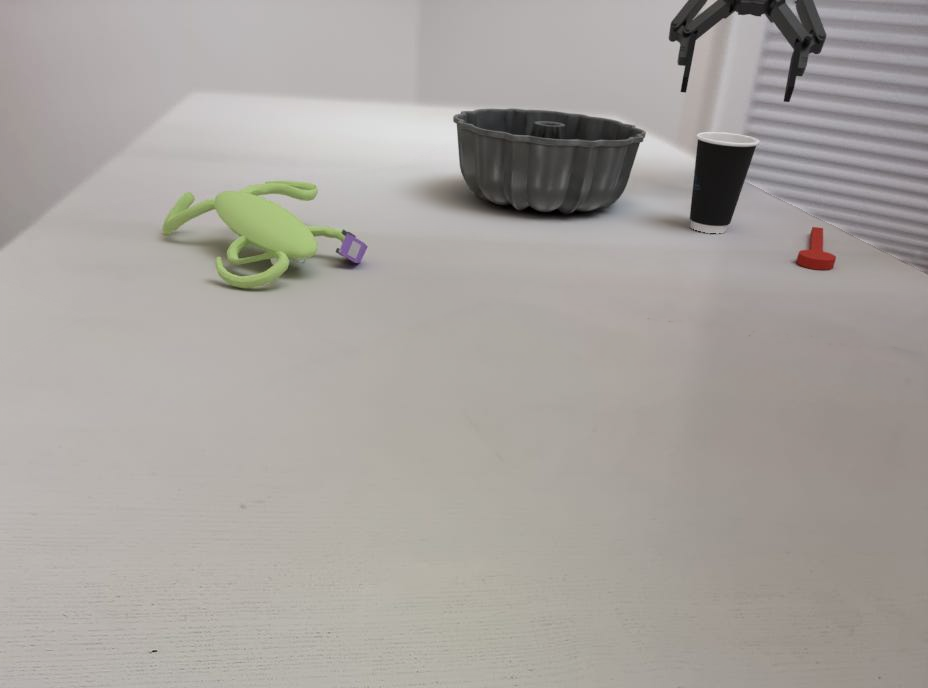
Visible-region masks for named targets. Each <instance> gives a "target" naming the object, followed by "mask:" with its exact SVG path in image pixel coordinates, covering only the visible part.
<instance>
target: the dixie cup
mask: <svg viewBox="0 0 928 688" xmlns="http://www.w3.org/2000/svg"><path fill="white" fill-rule="evenodd" d="M695 137H696V139H697V143H696V144H697V145H696V153H695V161H694V171H693V183H692V191H691V199H690V200H691V201H690V211H689V221H690V227H691V228H692V229H691V228H690V229H691V230H693V229H694V230H693V231H695V230H697V231H696V232H698V231H701V232H700V233H703V232H705V233H704V234H710V233H716V234H715V235H720V234H719V233H721V234H725V233H727V230H728V227H729V225H730V224H731V223H732V219H733V216H734V214H735V211H736V207H737V205H738V201H739V199H740V196H741V194H742V190H743V188H744V185H745V182H746V178H747V174H748V172H749V169H750V165H751V164H752V160H753V157H754V153H755V151H756V148H757V146H759V144H760V140H759V139H758V138H757V137H753V136H750V135H746V134H745V135H744V134H740V133H734V132H724V131H722V132H721V131H702V132H698V133H696V136H695Z"/></svg>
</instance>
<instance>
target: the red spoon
mask: <svg viewBox="0 0 928 688" xmlns="http://www.w3.org/2000/svg"><path fill="white" fill-rule="evenodd" d="M809 237H810V238H809V249H802V250H800V251H798V254H797V258H796V264H797V265H798V266H799V267H800V266H801V267H803V268H805V269H811V270H817V271H829V270H832V269H833V268H834V266H835V263H836V259H837V257H836V255H834V254H833V253H830V252H827V251H824V228H823V227H819V226H812V227H811V231H810V235H809Z"/></svg>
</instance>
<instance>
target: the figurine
mask: <svg viewBox="0 0 928 688" xmlns="http://www.w3.org/2000/svg"><path fill="white" fill-rule="evenodd" d="M318 191H319V190H318V186H317V185H316V184H313V183H311V182H306V181H296V180H295V181H294V180H269V181H265V182H264V183H260V184H259V183H257V184H252V185H249V186H246V187H244V188H242V189H240V190H226V191H222V192H219V193H218V194H216V195H215V198H214V197H213V198H207V199H205V200H202V201H200V202H198V203H195V204H194V205H192V204H193V203H194V201H195V200H196V199H195V195H194V194H193V193H192V192H190V191H186V192H185V193H183V194H182V196H181V197H180V198H179V199H178V200H177V201H176V203H175V204H174V206H173V207H172V208H171V210H169V212H168V214H167V215H166V216H165V219H164V222H163V225H162V228H161V230H162V232H163V234H164V235H166V236H168V235H171V234H172V233H173V232H175V231H177V230H178V229H179V228H180V227H182V226H183V225H185V224H186V223H187V222H189V221H191V220H193V219H195V218H198V217H199V216H201V215H204V214H206V213H208V212H211V211H213V210H215V211H216V213H217V215H218V217H219V218H220V219H221V220H222V221H223V223H225V225H226V226H227V227H228V228H229V229H230V230H231V231H232V232H233V233H234V234H236V235H237V236H239V237H238V238H236V239H235V240H233V242H231V243H230V245H229V247H228V249H227V250H226V257H227V261H228V262H230V263H232V264H234V265H246V264H251V263H255V262H260V261H264V260H270V263H271V264H272V265H271V266H270V267H269V268H268V269H266V270H265V271H262V272H258V273H255V274H250V275H241V276H240V275H237V274H234V273H231V272H229V271H228V270H227V269H226V267H224V264H223V260H222V257H221V256H217V257H216V258H215V268H216V271H217V274H218V276H219V277H220V278H221V279H222V280H223V281H224V282H225V283H227V284H229V285H231V286H233V287H234V288H240V289H253V288H258V287H262V286H265V285H267V284H270V283H272V282H274V281H276V280H277V279H278V278H280V277H281V276H282V275H283V274H284V273H285V272H286V271H287V270H288V268H289V265H290V263H291V262H290V259H292V260H293V262H295V263H297V264H305V262H306V259H309V258H311V257H313V256H315V255H316V254H317V252H318V240H317V239H316V238H315V237H326V238H330V239H337V240H339V241H340V242H341V246H340V248H339V247H336V249H335V253H337V254H338V255H339V256H341V257H343V258H346V259H348V260H350V261H351V262H353V263H355V264H361V263H362V260H363V258H364V255H365V254H366V252H367V249H368V247H369V246H368V245H367V244H366V243H365V242H364V241H362V240H360V239H359V238H357V236H356V235H355V234H354V233H352V232H350V231H347V230H345V229H344V228H343V229H338V228H337V229H336V228H334V227H330V226H314V225H313V226H312V225H311V226H309V225H308V226H307V225H306V223H304V222H303V221H302V220H301V219H300V218H299V217H298V216H297V215H296V214H294V213H292V211H289V210H288V209H286V207H283V206H282V205H281V204H278V203H276V202H274V201H272V200H271V199H267V198H265V197H264V196H265V195H281V196H286V197H290V198H292V199H295V200H298V201H303V202H304V201H305V202H310V201H313V200H315V198H316V197H317V195H318ZM191 205H192V206H191ZM250 245H253V247H256V248H259V249H260V250H263V251H264V253H261V254H258V255H257V254H256V255H253V256H248V257H241V258H239V254H240V252H241V251H242V250H243V249H245V248H247V247H248V246H250Z"/></svg>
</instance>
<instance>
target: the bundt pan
mask: <svg viewBox="0 0 928 688" xmlns="http://www.w3.org/2000/svg"><path fill="white" fill-rule="evenodd" d="M452 122H453V123H454V124H456V131H457V132H456V133H457V148H458V158H459V159H458V161H459V169H460V172H461V175H462V178H463V180H464V181H465V183H466V185H467V187H468V189H469V190H470V191H471V192H472V194H474V195H475V196H476V197H477V198H479V199H481V200H483V201H487V202H491V203H494V204H496V205H499V206H510V205H512V207H513V208H514V209H515V210H517V211H523V210H525V209H527V208H529V207H530V208H531V209H533V210H535V211H537V212H541V213H549V212H553V211H555V210H558V211H559V212H560V213H561V214H564V215H569V214H572V213H574V211H577V212H582V213H583V212H591V211H595V210H603V209H605V208H608V207H610V206H612V205H613V204H614V203H616V202H617V201H618V200H619V199H620V197H621V196H622V195H623V194H624V192H625V190H626V187H627V186H628V183H629V180H630V176H631V174H632V170H633V166H634V163H635V160H636V157H637V154H638V151H639V148H640V144H641V143H643V142H644V139H645V137H646V134H647V133H646V130H644V129H642V128H638V127H637V126H636V125H635V124H629V123H624V122H622V121H619V120H615V119H612V118H606V117H600V116H590V115H587V114H583V113H573V112H572V113H571V112H570V113H569V112H565V111H564V112H563V111H557V110H545V109H522V108H512V107H511V108H477V109H473V110H461V111H460V113H456V114H454V115H453V116H452Z"/></svg>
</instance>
